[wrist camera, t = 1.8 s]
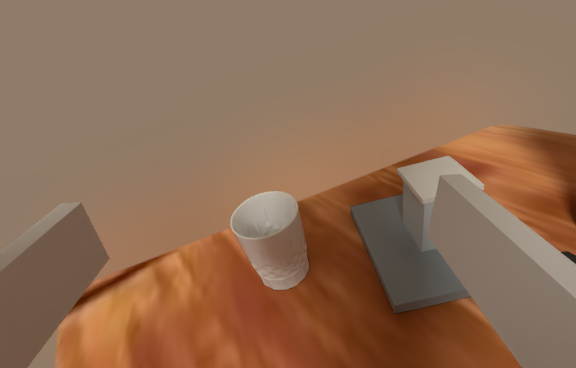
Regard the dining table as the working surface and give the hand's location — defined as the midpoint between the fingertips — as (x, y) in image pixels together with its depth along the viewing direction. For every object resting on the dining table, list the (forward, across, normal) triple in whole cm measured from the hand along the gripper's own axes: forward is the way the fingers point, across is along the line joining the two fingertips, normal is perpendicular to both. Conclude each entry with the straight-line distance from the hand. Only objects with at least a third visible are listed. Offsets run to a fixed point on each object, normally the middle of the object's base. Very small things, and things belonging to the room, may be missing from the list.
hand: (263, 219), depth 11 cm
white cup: (+18, -1, -22) cm, 28 cm away
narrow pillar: (+18, +18, -18) cm, 32 cm away
